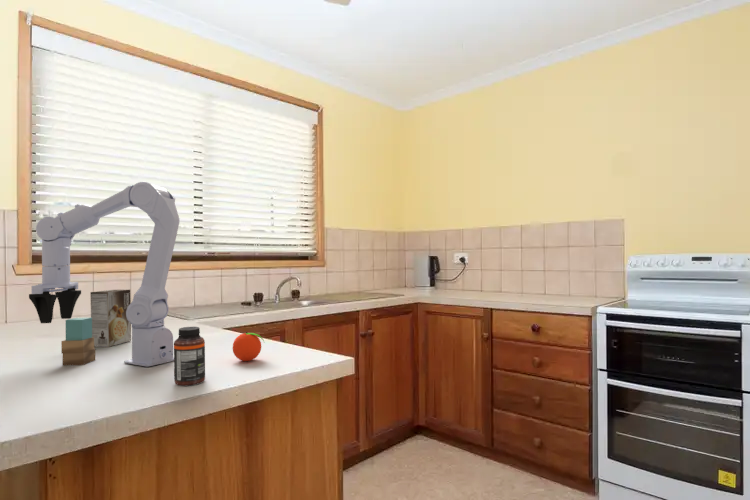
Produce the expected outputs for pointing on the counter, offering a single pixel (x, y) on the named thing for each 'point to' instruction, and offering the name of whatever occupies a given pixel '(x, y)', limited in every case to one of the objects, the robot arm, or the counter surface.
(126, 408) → the counter surface
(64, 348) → the tower upper
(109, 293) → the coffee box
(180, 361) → the supplement bottle
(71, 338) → the teal block
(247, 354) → the clementine
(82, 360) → the tower lower
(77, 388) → the counter surface
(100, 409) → the counter surface
